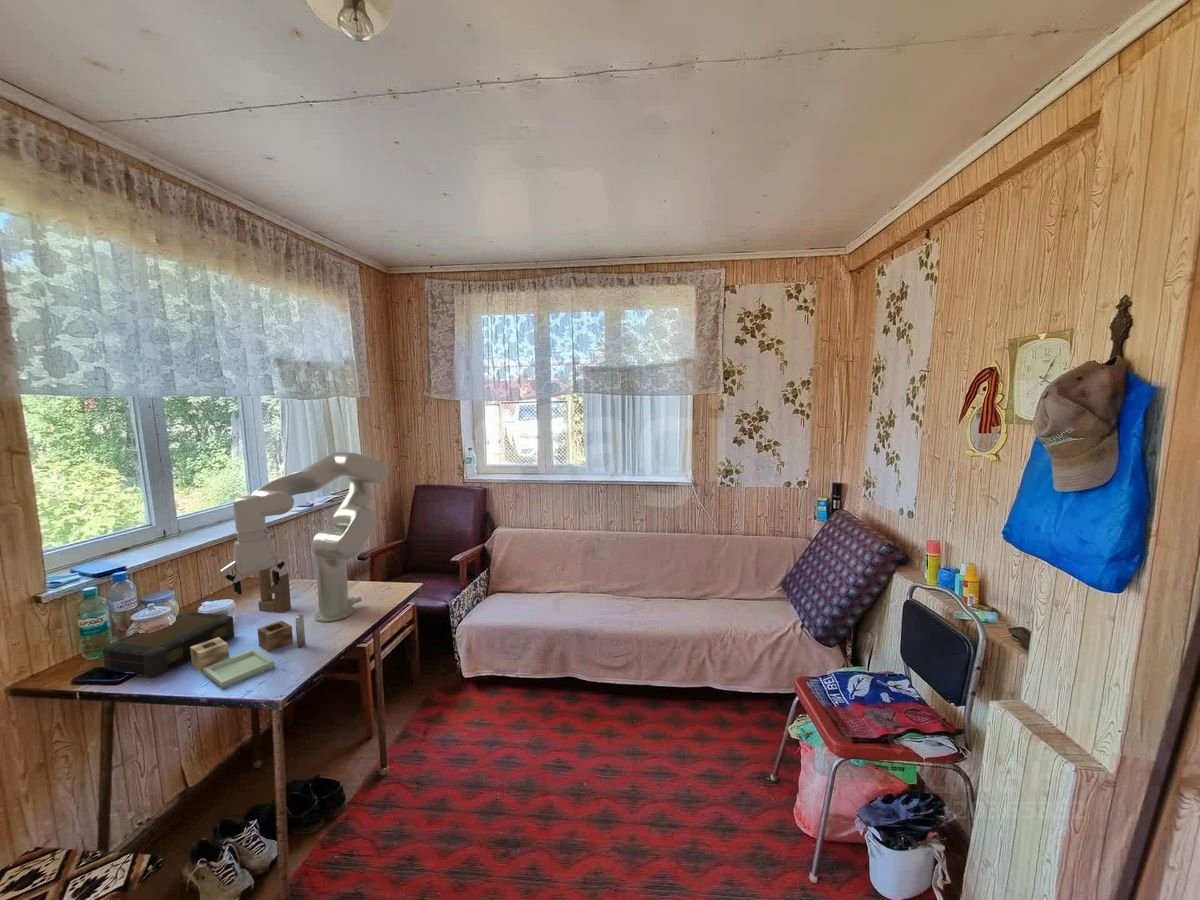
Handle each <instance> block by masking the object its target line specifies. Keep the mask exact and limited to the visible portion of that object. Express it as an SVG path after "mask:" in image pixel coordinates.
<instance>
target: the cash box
mask: <svg viewBox="0 0 1200 900" xmlns="http://www.w3.org/2000/svg"><path fill="white" fill-rule="evenodd" d="M176 616H177V617H176V621H175V622H174V623H173V624H172V625H170V626H168V627H166V628H163V629H161V630H158V631H155V632H151V633H139V631H137V632H134V633H131V634H130V635H127V636H124V637H121V638H120V639H118V640H116V641H113V642H110V643H107V644H105V646H103V647H102V656H103V657H102V658H103V664H104V665H103V666H104V669H105V668H108V669H118V670H123V671H130V672H134V673H136V674H138V675H142V676H141V677H144V676H148V677H147V678H157V677H160V676H162V675H164V674H167V673H168V672H170V671H171V670H173V669H175V668H176V669H177V667H180V666H181V665H183V664H186V663H188V662H190V661H191V651H190V647H191V646H194V645H197V644H200V643H203V642H206V641H209V640H212V639H215V638H218V637H219V638H220V639H222V640H224V641H225V642H228V641H230V640H232V639H233V638H234V637H235V628H234V617H233V616H232V615H225V614H223V615H222V614H217V613H216V614H215V613H214V614H213V613H205V612H197V611H196V612H195V611H185V612H183V613H180V614H178V615H176ZM159 675H160V676H159ZM156 676H157V677H156Z"/></svg>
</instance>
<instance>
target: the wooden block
mask: <svg viewBox="0 0 1200 900" xmlns="http://www.w3.org/2000/svg"><path fill="white" fill-rule="evenodd" d="M271 575H272V574H271V568H269V569H266V570H262V571H258V580H259V581H258V582H259V583H258V584H259V590H260V600H259V601H258V602H257V603H258V611H260V612H271V613H272V612H273V613H274V612H276V613H281V614H282V613H286V612H287V611H289V610H291V608H292V603H291V594H290V593H291V592H290V591H291V590H290V578H289V577H290V576H289V572H286V573H284V574H282V575H281V576H280V575H279V577H280V581H278V585H275V584H274V583H273V584H272V579H271ZM273 595H274V598H273Z"/></svg>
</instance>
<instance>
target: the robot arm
mask: <svg viewBox="0 0 1200 900" xmlns="http://www.w3.org/2000/svg"><path fill="white" fill-rule="evenodd" d="M343 476H346V477H347V478H348V482H349V483H348V484H349V486H348V488H349V489H348V492H347V493H346V495H345V496H344V499H342V502H341V503H340V505H339V506H338V507H337V509H336V510H335V512H334V514H333V516H332V519H331V522H332V525H333V527H335V528H336V529H338V530H335V529H324V530H321V531H319V532H317V533H316V534H315V535H314V536H313V537H312V541H311V552H312V554H313V558H314V561H315V568H316V569H315V570H316V582H317V583H316V585H317V598H318V611H316V613H315V614H314V619H315V621H317V622H321V623H322V622H323V623H329V622H335V621H339V620H343V619H345V618H347V617H349V616H351V615H352V614H353V613H354V611H355V610H354V609H355V608H354V604H358V603H360V602H362V597H361V596H357V597H354V596H352V597H349V587H348V575H347V574H348V573H347V572H348V570H347V562H346V560H351V559H354V558H355V557H356V556H357V555H358V554H359V553H360V551H361V550H362V548H363V547H364V545H365V543H366V542H367V540H368V538H369V536H370V535H371V534H372V531H373V530H374V527H375V525H376V521H377V515H376V513H375V511H374V510H373V509H372V508H371V507H368V506H369V504H370V502H371V500H372V498H373V497H372V496H373V494H372V493H373V492H372V487H371V484H381V483H383V482H384V481H385V480H386V479H388V476H389V467H388V465H387V464H386V463H385V462H384V461H382V460H379V459H375V458H372V457H370V456H367V455H362V454H359V453H355V452H343V451H337V452H333V453H330V454H328V455H326V456H325V457H323V458H321V459H320V460H318V461H316V462H314V463H312V464H311V465H309V466H307V467H306V468H304V469H301V470H298V471H295V472H292V473H289V474H288V475H284V476H281V477H279V478H276V479H274V480H272V481H271V480H270V481H269V482H267V483H266V484H264V485H262V486H260V487H259V488H256V489H255V490H254V491H253V492H252V493H251V495H242V496H238V497H237V498H235V499H234V501H233V514H234V515H233V516H234V524H235V532H236V540H237V541H234V543H233V551H232V555H233V556H232V559H233V561H232V562H231V563H229V564H228V565H226V566H225V567H223V568H221V569H220V571H219V572H220V573H221V575H223V577H224V578H225V579H226V580H228V581H230V582H232V585H233V591H234V593H237V595H238V596H239V595H242V593H243V592H242V584H241V581H240V579H241V578H242V577H243V576H245V575H249V574H254V573H259V571H262V570H266V569H269V568H270V570H271V569H272V570H271V575H272V583H273V584H275V585H278V581H280V571H281V569H282V568H283V567H284V566H285V565H286V561H287V559H288V555H286V554H282V553H277V552H274V546H273V543H272V539H271V538H270V536H269V534H271V533H273V529H272V528H269V527H267V524H266V523H267V522H266V517H270V516H271V517H272V516H280V515H284V514H287V513H289V512H290V511H291V510H292V509H293V508H294V505H295V499H294V496H296V495H301V494H308V493H312V492H317V491H319V490H322V488H324V487H326V486H327V485H328V484H330V483H332V482H334V481H335V480H338V478H340V477H343ZM342 530H343V531H342ZM276 559H280V561H279V562H278V563H277V564H276ZM232 569H234V572H235V573H234V574H233V575H232V574H230V573H229V572H230V571H231V570H232Z"/></svg>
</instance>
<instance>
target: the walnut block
mask: <svg viewBox="0 0 1200 900" xmlns="http://www.w3.org/2000/svg"><path fill="white" fill-rule="evenodd" d="M293 637H294V636H293V626H292V625H291V624H289V623H287V622H285V621H284V620H278V621H275V622H273V623H270V624H268V625H264V626H261V627H259V628H257V639H258V641H257V642H258V647H259V648H260V649H263V650H264V651H265V652H267V653H271V652H273V651H277V650H279V649H282V648H284V647H287V646H290V645H292V644H294V640H293V639H294V638H293Z"/></svg>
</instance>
